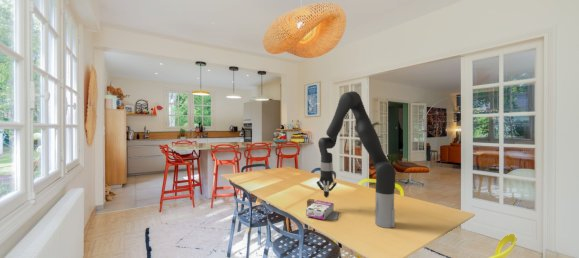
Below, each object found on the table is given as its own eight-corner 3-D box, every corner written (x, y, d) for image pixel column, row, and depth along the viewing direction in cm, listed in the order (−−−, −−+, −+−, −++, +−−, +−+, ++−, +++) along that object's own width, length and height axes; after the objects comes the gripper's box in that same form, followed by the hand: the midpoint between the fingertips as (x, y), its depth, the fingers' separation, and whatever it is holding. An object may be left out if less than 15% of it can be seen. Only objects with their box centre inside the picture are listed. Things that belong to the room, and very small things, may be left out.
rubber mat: (338, 212, 144) (338, 211, 144) (336, 220, 132) (336, 219, 132) (312, 209, 149) (312, 208, 149) (308, 216, 137) (308, 215, 137)
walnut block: (314, 205, 157) (314, 199, 157) (312, 207, 153) (313, 201, 153) (308, 204, 158) (308, 198, 158) (306, 206, 154) (306, 200, 154)
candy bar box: (317, 207, 150) (305, 216, 136) (317, 200, 150) (305, 207, 136) (334, 211, 145) (323, 220, 131) (334, 203, 145) (324, 211, 131)
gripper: (314, 169, 147) (314, 197, 147) (336, 171, 142) (336, 199, 143) (317, 167, 154) (317, 194, 154) (338, 169, 150) (337, 196, 150)
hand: (326, 197), depth 148 cm, fingers closed
